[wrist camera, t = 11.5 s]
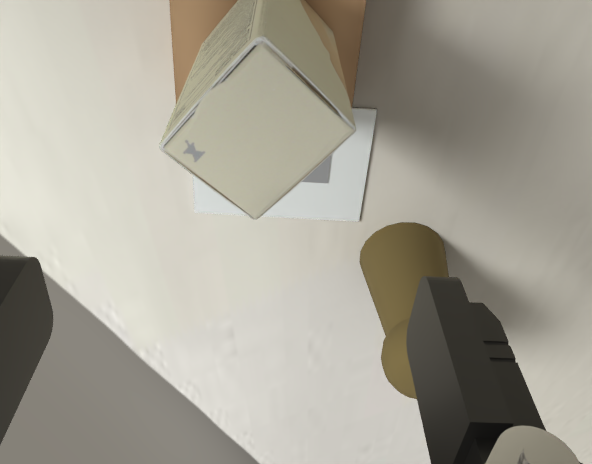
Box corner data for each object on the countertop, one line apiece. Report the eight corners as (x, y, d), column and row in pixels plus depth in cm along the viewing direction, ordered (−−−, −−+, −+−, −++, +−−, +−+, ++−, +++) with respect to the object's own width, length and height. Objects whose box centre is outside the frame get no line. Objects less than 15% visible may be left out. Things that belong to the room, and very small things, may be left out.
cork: (371, 216, 37) (394, 337, 29) (457, 228, 38) (506, 351, 29) (350, 283, 41) (366, 409, 32) (429, 293, 42) (466, 420, 33)
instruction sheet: (195, 211, 37) (194, 213, 37) (189, 97, 33) (188, 99, 32) (358, 220, 38) (359, 222, 37) (376, 108, 33) (377, 111, 33)
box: (264, 103, 28) (249, 230, 20) (198, 43, 27) (148, 153, 18) (339, 28, 26) (362, 132, 17) (273, -43, 24) (259, 33, 16)
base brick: (188, 89, 32) (177, 118, 29) (180, -89, 27) (164, -78, 24) (343, 98, 33) (349, 128, 29) (365, -76, 27) (374, -63, 24)
